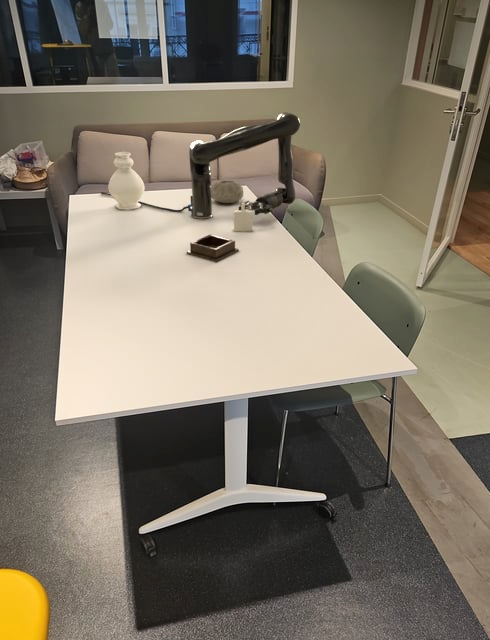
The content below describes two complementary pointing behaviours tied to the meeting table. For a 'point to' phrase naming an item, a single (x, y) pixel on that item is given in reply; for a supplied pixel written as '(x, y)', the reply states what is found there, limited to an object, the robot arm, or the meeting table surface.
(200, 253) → the bottle stand
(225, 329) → the meeting table surface
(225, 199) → the decorative shell
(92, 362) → the meeting table surface
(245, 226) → the perfume bottle
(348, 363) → the meeting table surface
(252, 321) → the meeting table surface
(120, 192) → the decorative vase
